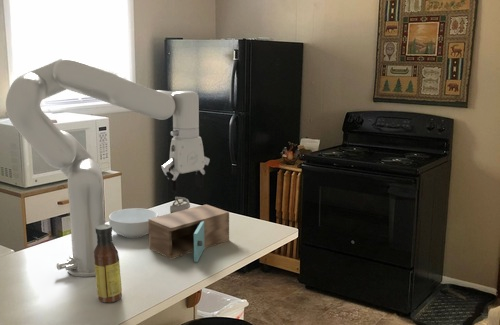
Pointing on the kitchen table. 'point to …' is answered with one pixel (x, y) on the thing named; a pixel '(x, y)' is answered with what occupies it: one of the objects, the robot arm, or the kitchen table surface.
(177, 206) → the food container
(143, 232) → the cereal bowl
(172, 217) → the cabinet
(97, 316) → the kitchen table surface
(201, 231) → the door
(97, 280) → the sauce bottle
